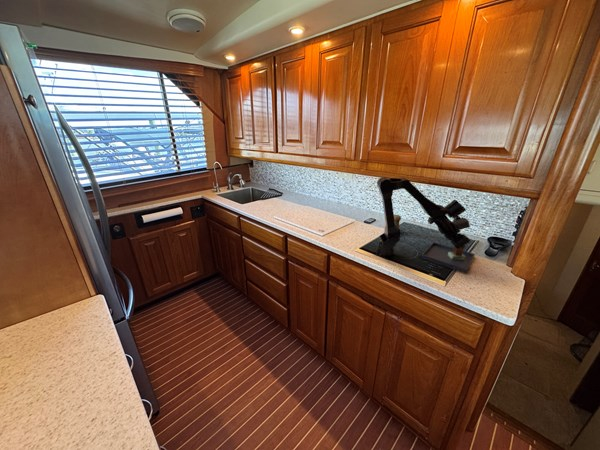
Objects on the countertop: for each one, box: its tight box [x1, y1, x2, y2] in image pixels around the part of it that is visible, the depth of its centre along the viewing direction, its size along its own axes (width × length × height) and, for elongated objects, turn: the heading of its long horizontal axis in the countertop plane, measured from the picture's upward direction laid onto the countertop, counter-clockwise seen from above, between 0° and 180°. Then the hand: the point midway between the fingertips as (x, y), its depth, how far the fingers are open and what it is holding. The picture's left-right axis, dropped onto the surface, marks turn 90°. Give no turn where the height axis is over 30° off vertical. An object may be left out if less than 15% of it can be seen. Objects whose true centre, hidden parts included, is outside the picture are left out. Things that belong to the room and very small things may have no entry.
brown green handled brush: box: [448, 245, 466, 260], centre depth 115 cm, size 6×4×10 cm, turn 88°
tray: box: [420, 241, 476, 274], centre depth 117 cm, size 19×19×2 cm
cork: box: [394, 214, 402, 228], centre depth 143 cm, size 6×6×11 cm
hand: (462, 246), depth 114 cm, fingers closed on brown green handled brush, 3 cm apart
